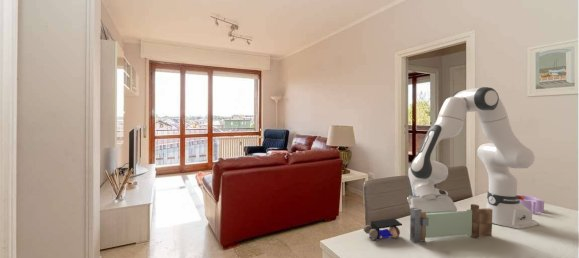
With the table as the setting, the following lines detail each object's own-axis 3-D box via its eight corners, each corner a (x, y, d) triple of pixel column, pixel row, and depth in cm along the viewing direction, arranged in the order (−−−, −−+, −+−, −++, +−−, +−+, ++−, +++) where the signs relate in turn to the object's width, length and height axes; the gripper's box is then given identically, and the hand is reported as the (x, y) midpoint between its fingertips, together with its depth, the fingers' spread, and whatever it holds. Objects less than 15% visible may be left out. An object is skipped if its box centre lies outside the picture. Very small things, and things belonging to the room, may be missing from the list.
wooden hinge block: (487, 234, 118) (487, 203, 117) (493, 237, 115) (494, 205, 114) (468, 235, 116) (469, 204, 116) (473, 238, 113) (474, 206, 113)
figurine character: (371, 247, 109) (404, 239, 112) (370, 229, 109) (402, 222, 112) (364, 239, 116) (394, 232, 119) (362, 222, 115) (393, 216, 118)
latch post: (421, 239, 113) (422, 207, 112) (428, 243, 109) (428, 210, 108) (410, 240, 112) (410, 207, 111) (415, 244, 108) (416, 211, 107)
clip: (493, 203, 160) (493, 192, 159) (508, 201, 163) (508, 190, 163) (531, 215, 140) (531, 202, 140) (547, 212, 144) (547, 200, 144)
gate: (468, 234, 116) (468, 207, 115) (472, 237, 113) (473, 209, 113) (417, 238, 112) (418, 211, 112) (421, 241, 110) (421, 213, 109)
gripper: (408, 192, 122) (419, 221, 113) (450, 191, 123) (465, 219, 114) (403, 198, 127) (414, 227, 117) (444, 197, 128) (457, 225, 119)
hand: (439, 223), depth 116 cm, fingers closed
